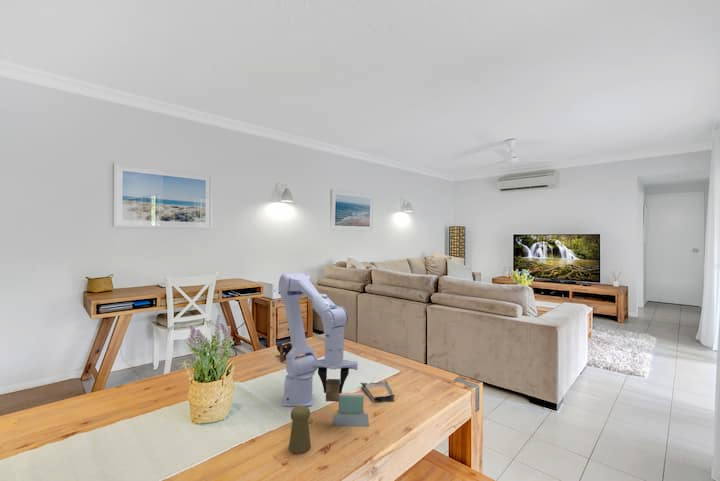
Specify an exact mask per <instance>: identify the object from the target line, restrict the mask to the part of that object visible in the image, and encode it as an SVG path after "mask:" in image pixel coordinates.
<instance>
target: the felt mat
mask: <svg viewBox="0 0 720 481" xmlns="http://www.w3.org/2000/svg"><path fill="white" fill-rule="evenodd" d="M332 427H370V421H369V414H368V413H333V419H332Z"/></svg>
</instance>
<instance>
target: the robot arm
mask: <svg viewBox="0 0 720 481" xmlns="http://www.w3.org/2000/svg"><path fill="white" fill-rule="evenodd" d="M278 280H279V281H278V283H277V284H278V290H279V294H280V299H281V300H283V303H284V304H283V305H284V309H285V314H286V320H287V326H288V327H287V328H288V330H289V333H288V334H289V336H290V343H291V344H292V349H291V350H290V352H289V353H288V354H287V355H286V361H285V362H286V363H285V364H286V365H285V370H286V373H287V375H285V379H284V384H283V385H284V389H283V406H284V407H296V406H300V405H302V406H306V407H312V406H313V404H314V399H315V393H313V377H314V375H315V372H317V374H318V376H319V379H320V381H321V384H322V387H323V394H326V383H327V379H328V373H327V372H328V369H329V370H337V369H339V370H340V374H339V375H340V378H339V379H340V390H339V393H343V387H344V384H345V382H346V380H347V378H348V376H349V373H350V370H354V371H357V370H358V367H359V366H358V361H355V360H348V359H344V347H345V345H344V343H345V342H344V341H345V326H347V325H348V323H349V320H350V319H349V313H348V310H347V309H346V308H345V307H344V306H339V305H338V306H337V305H336V304H335V302H333V301H332V300H331V298H329V296H328V295H327V294H326V293H320V292H319V291H318V290H317V288H316V287H315V286H314V285H313V283H312V278H311V276H310V275H309V274H308V273H307V272H301V273H283V274H281V275H280V277H279V279H278ZM303 296H305V297H306V298H307V299H308V300H310V301H311V307H312V309H314V312H316V313H317V314H318V315H319V317H321V323H322V325H323V326H322V327H323V333H324V337H325V338H324V358H323V359H318V358H317V355H316V353H315V349H314V347H311V346H309V345H308V344H307V339H306V338H307V337H306V332H305V327H304V320H303V317H302V312H301V311H302V310H301V307H300V299H301V298H303ZM300 355H301V356H300Z"/></svg>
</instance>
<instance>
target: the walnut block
mask: <svg viewBox="0 0 720 481" xmlns="http://www.w3.org/2000/svg"><path fill="white" fill-rule="evenodd" d="M339 390H340V378H334V379H333V378H327V383H326V393H325V402H336V403H339V396H340V393H339Z"/></svg>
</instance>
